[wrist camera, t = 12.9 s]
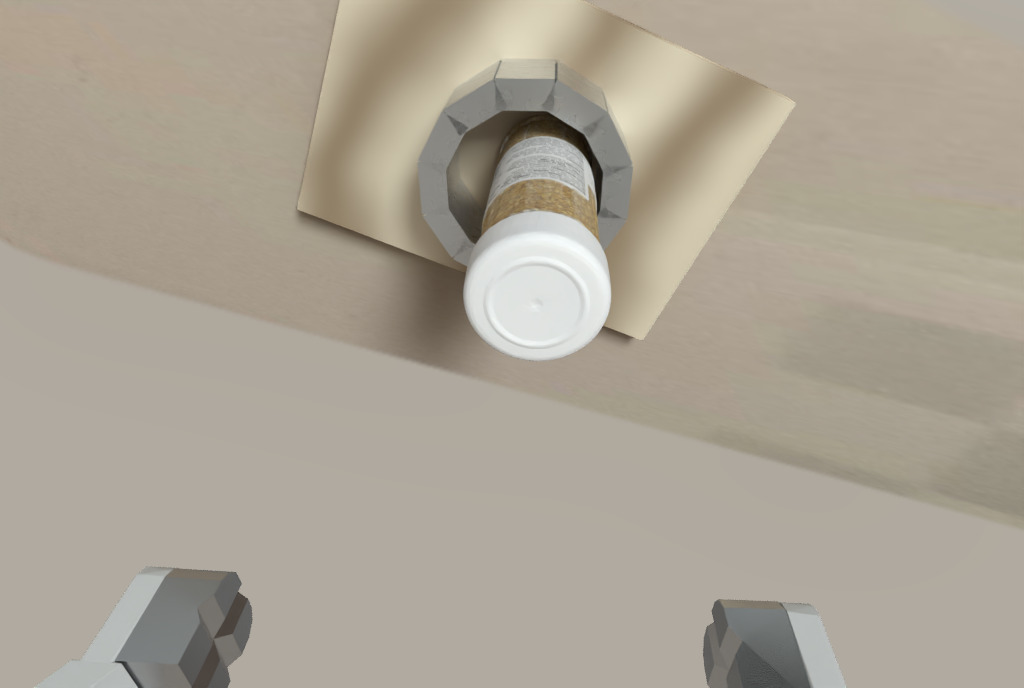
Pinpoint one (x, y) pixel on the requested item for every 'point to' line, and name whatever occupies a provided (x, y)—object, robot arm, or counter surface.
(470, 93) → the steel ring
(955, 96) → the counter surface
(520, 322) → the sprinkles bottle
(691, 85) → the birch board
